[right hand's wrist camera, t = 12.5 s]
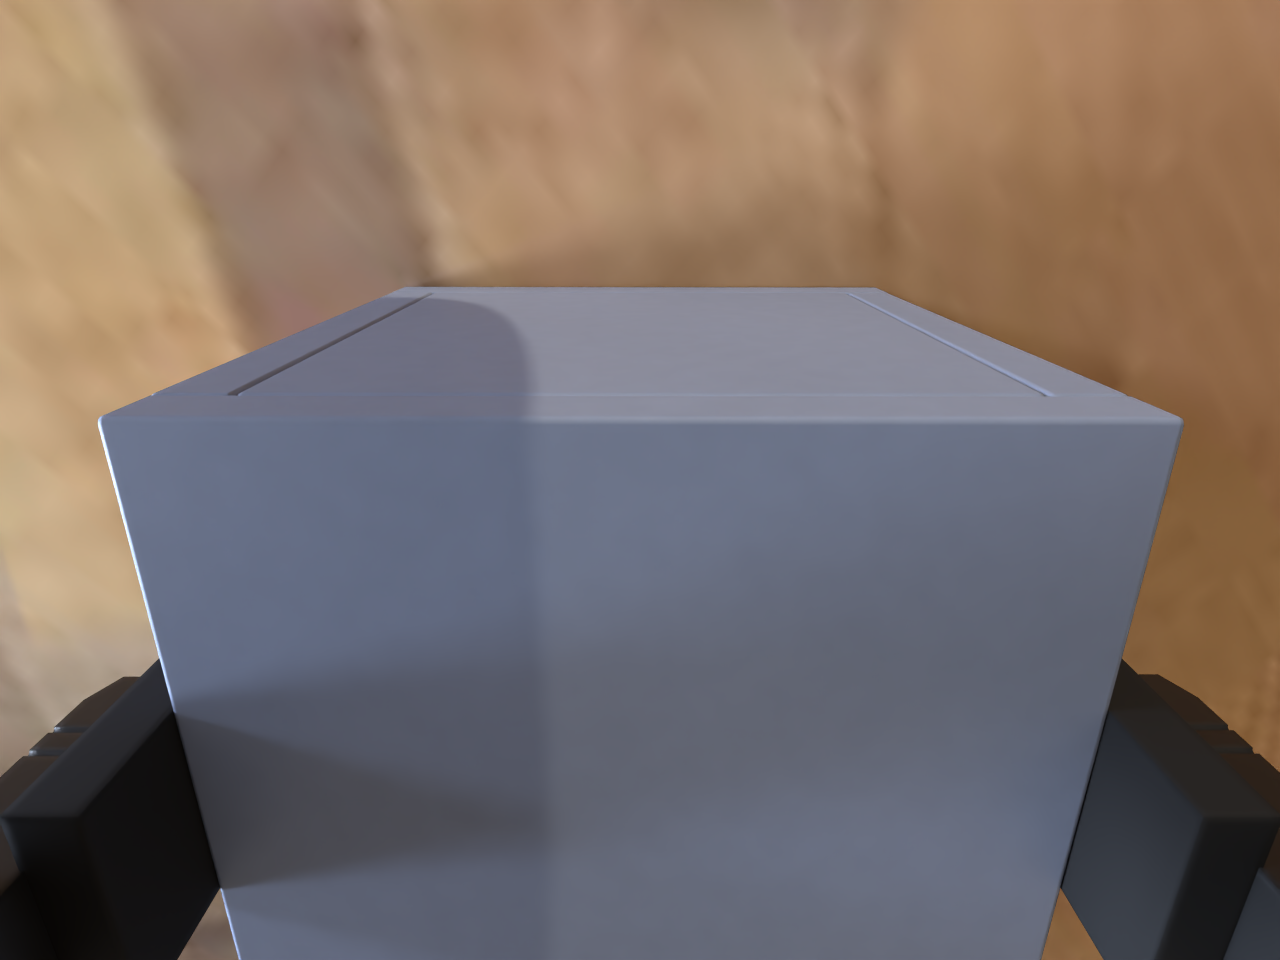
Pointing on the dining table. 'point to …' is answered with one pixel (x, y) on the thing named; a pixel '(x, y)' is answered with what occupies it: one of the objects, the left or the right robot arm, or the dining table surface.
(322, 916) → the cabinet
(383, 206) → the dining table surface
